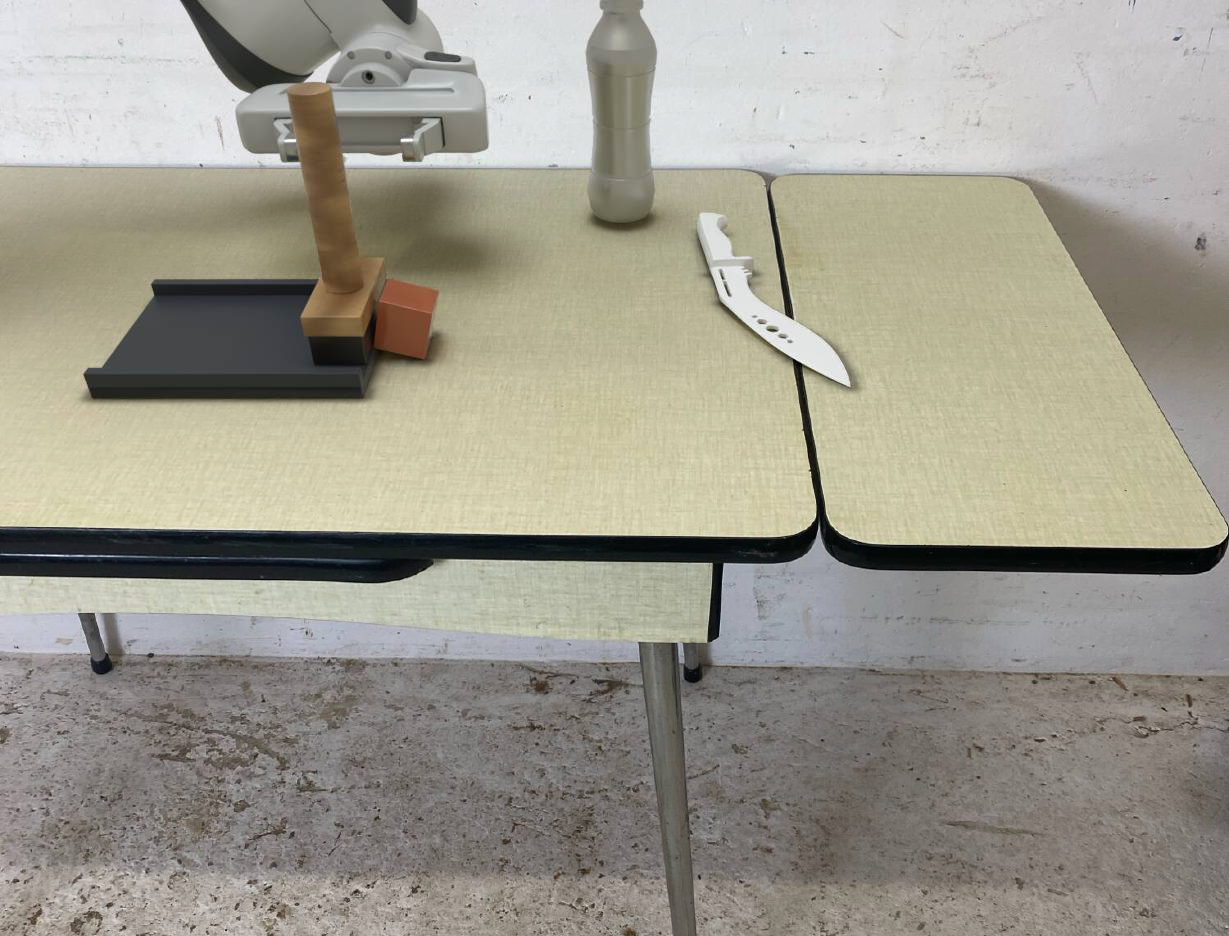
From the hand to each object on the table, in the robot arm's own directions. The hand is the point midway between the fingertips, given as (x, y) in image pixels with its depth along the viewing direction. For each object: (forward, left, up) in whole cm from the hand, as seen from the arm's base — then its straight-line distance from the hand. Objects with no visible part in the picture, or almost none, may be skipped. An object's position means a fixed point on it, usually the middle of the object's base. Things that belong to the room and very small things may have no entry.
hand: (349, 152), depth 83 cm
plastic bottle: (+21, +18, -12) cm, 30 cm away
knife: (+33, 0, -12) cm, 35 cm away
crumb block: (+4, -8, -12) cm, 15 cm away
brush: (0, -8, -11) cm, 14 cm away
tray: (-8, -8, -12) cm, 17 cm away
